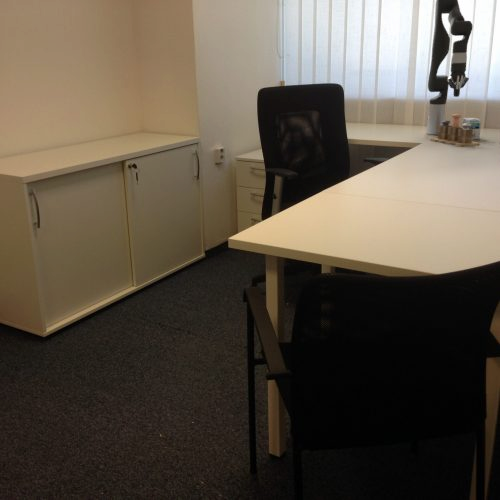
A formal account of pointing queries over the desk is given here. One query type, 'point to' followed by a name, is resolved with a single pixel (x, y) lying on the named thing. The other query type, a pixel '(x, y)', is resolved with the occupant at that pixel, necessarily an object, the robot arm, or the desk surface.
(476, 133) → the light bulb box
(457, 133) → the socket board
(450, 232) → the desk surface
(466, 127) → the plug grey
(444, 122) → the peg
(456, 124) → the plug terracotta
